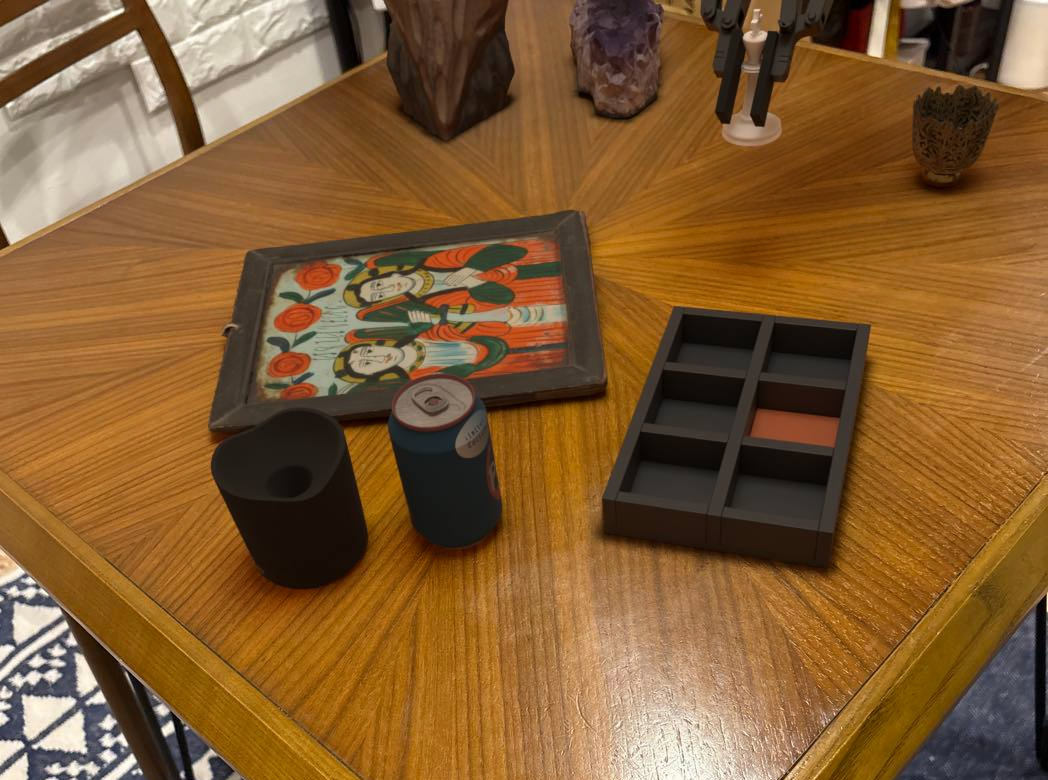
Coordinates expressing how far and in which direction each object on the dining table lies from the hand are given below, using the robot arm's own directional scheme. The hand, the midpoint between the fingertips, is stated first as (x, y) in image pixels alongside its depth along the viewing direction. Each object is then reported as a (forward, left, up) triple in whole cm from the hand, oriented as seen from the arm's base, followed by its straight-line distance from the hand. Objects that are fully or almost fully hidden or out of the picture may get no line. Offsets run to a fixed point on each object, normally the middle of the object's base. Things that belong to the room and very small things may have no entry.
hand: (739, 119), depth 88 cm
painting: (+28, +10, -16) cm, 34 cm away
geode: (+21, -40, -16) cm, 48 cm away
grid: (-4, +20, -16) cm, 26 cm away
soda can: (+15, +33, -16) cm, 40 cm away
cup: (-16, -21, -16) cm, 31 cm away
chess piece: (0, -4, -3) cm, 5 cm away
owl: (+39, -30, -16) cm, 51 cm away
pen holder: (+25, +38, -16) cm, 48 cm away
